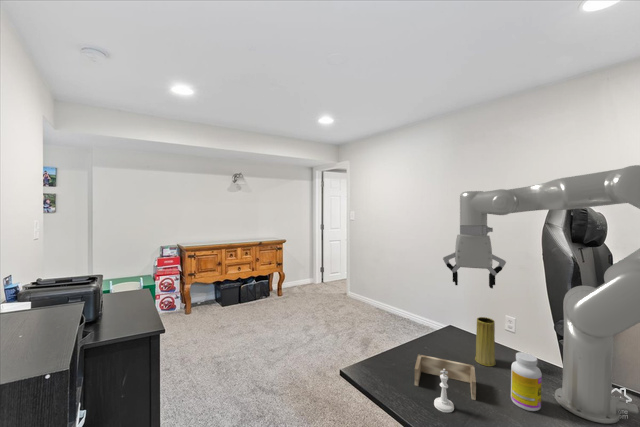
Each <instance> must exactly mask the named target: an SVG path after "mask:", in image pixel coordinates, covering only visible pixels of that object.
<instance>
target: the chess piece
mask: <svg viewBox="0 0 640 427" xmlns="http://www.w3.org/2000/svg"><path fill="white" fill-rule="evenodd" d="M441 373H443V374H441V375H440V376H439V378H440V381H441V382H439V386H440V387H441V393H440V397H436V398H435V399H434V401H433V405H434V407H435V408H436V409H437V410H438V411H440V412H442V413H452V412H453V411H454V410H455V405H454V403H453V402H452V401H451V400H449V399H448V395H447V393H448V392H447V389H448V388H449V385H448V383H447V382H448V380H449V378H448V376H447V375H445V374H448V372H447V371H445V369H443V371H441Z"/></svg>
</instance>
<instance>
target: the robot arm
mask: <svg viewBox="0 0 640 427" xmlns="http://www.w3.org/2000/svg"><path fill="white" fill-rule="evenodd" d="M622 204H629V205H631V206H633V207H634V208H637V209H638V210H640V164H635V165H628V166H625V167H621V168H617V169H612V170H605V171H599V172H593V173H586V174H581V175H573V176H567V177H561V178H556V179H553V180H550V181H547V182H543V183H540V184H535V185H534V184H533V185H529V186H528V185H527V186H523V187H516V188H509V189H508V188H507V189H504V188H501V189H493V190H488V191H487V190H485V191H484V190H470V191H468V190H467V191H462V192H461V193H460V195H459V234H457V235H456V239H455V252H452V253H451V254H448V255H446V256H444V257H443V258H442V260H443V262H444V263H445V266H446V267H447V268H448V269H449V270H450V271H451V272H452V282H453V283H454V285H455V286H458V285H459V284H458V282H459V281H458V280H459V276H458V275H459V274H458V270H459V269H460V268H468V269H480V270H481V269H482V270H483V269H484V270H487V271H488V272H489V273H488V287H489V288H490V289H494V286H496V276H497V275H498V274H499V273H500V272H501V271H502V270H503V268H504V267H505V265H506V263H507V261H506V260H505V259H503V258H500V257H499V256H497V255H496V254H493V249H492V248H493V247H492V241H491V237H490V235H488V234H489V233H493V232H494V229H493V227H489V226H488V215H493V216H494V215H495V216H508V215H509V214H515V213H524V212H534V211H547V210H548V211H565V210H574V209H575V210H577V209H583V208H585V209H586V208H592V207H594V208H595V207H600V206H601V207H602V206H603V207H604V206H612V205H622ZM452 259H454V262H455V264H454V265H453V264H452V263H451V262H450V261H449V260H452ZM493 260H494V261H495V262H497V263H498V265H497V266H495V268H494V267H493ZM603 280H604V283H602V284H600V285H598V286H597V287H594V286H589V285H578V286H574V287H572V288H571V289H569V290H568V291H567V292H566V293H565V295H564V298H563V304H562V305H563V308H562V309H563V311H562V312H563V347H562V348H563V349H562V350H563V352H562V385H561V386H562V387H559V388H557V389H556V390H555V391H554V398H555V400H556V402H557V403H558V404H559V405H561V407H563V409H564V410H567V411H568V412H570V413H572V414H573V415H575V416H577V417H580V418H582V419H585V420H588V421H592V422H595V423H597V424H598V423H599V424H609V425H610V424H616V423H618V422H619V421H620V419H621V414H620V412H622V411H625V412H628V413H633V414H639V408H638V405H637V404H634V403H630V402H627V401H626V399H625V397H624V398H623V397H620V396H613V394H612V393H613V392H612V390H613V389H612V386H613V385H612V384H613V358H614V357H613V355H614V336H617V335H618V334H621V333H623V332H624V331H627V330H629V329H631V328H632V327H635V326H636V325H638V324H640V248H638V249H636V250H635V251H634V252H633V251H632V253H630V254H629V255H627V256H626V257H623V258H622V259H621V260H619V261H617V262H614V264H612V265H611V266H609V267H608V268H606V271H605V272H604V274H603Z"/></svg>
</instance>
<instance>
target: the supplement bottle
mask: <svg viewBox="0 0 640 427" xmlns="http://www.w3.org/2000/svg"><path fill="white" fill-rule="evenodd" d="M537 365H538V357H536V356H535V355H533V354H532V353H528V352H521V351H520V352H519V351H518V352H516V353H515V361H513V362H512V363H511V367H510V369H511V370H510V372H511V373H510V374H511V375H510V399H511V401H512V403H513V404H515V405H516V406H517V407H519V408H520V409H522V410H525V411H530V412H536V411H539V410H541V408H542V376H543V374H542V371H541V369H540V368H539V367H538V366H537Z"/></svg>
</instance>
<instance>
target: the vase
mask: <svg viewBox="0 0 640 427" xmlns="http://www.w3.org/2000/svg"><path fill="white" fill-rule="evenodd" d="M495 321H496V320H494V319H493V318H490V317H485V316H483V317H482V316H480V317H477V318H476V332H475V333H476V335H475V336H476V337H475V357H474V361H476V363H478V364H480V365H482V366H485V367H493V366H495V365H497V364H496V363H497V362H496V342H495V341H496V340H495V339H496V338H495V334H496V333H495V332H496V330H495V328H496V326H495V325H496V324H495V323H496V322H495Z"/></svg>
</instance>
